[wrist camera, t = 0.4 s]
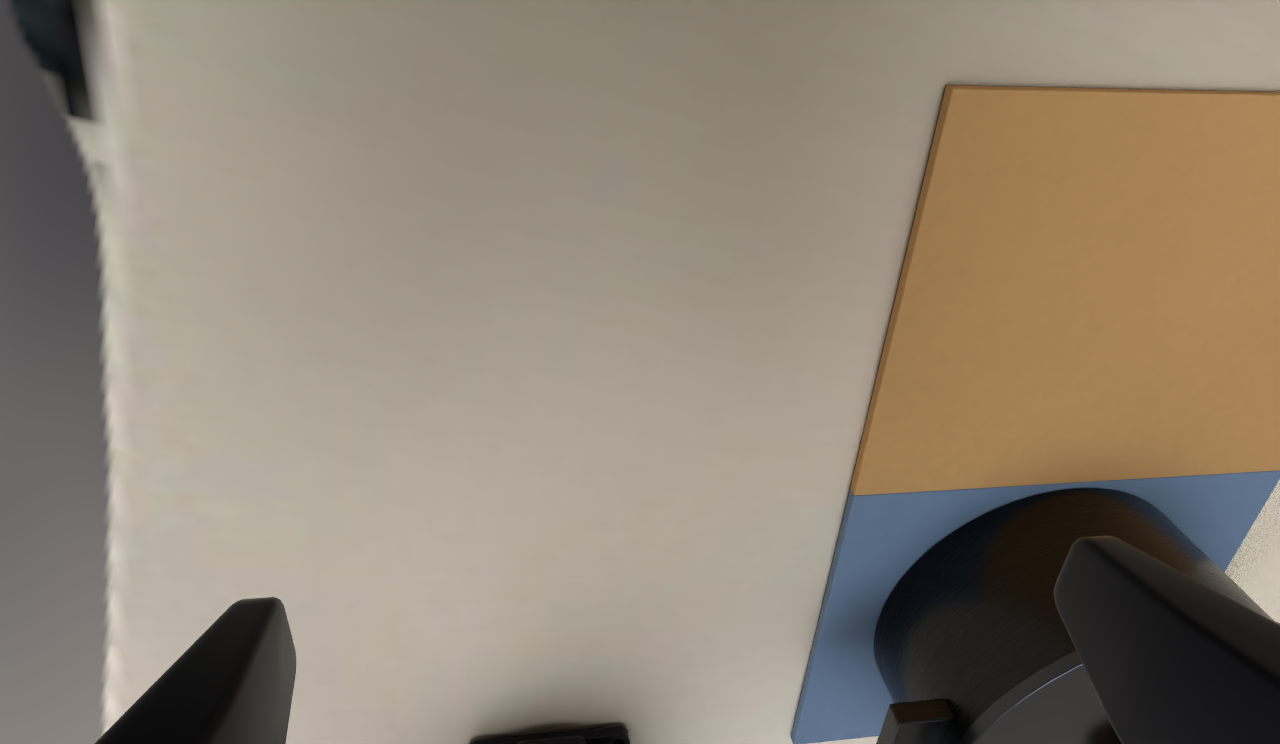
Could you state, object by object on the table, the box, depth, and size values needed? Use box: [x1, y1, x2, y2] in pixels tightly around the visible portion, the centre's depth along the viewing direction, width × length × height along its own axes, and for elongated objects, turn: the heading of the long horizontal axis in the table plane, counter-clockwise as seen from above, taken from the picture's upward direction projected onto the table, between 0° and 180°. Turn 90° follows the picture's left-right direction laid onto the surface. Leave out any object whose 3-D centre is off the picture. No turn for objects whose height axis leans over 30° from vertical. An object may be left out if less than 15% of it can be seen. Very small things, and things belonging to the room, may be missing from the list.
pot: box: [874, 488, 1280, 744], centre depth 29 cm, size 13×16×8 cm
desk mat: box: [791, 85, 1280, 744], centre depth 29 cm, size 28×17×1 cm, turn 177°
